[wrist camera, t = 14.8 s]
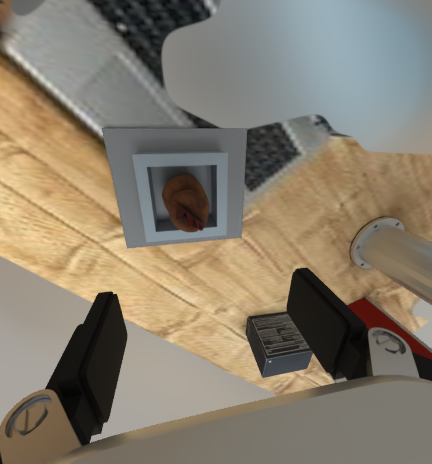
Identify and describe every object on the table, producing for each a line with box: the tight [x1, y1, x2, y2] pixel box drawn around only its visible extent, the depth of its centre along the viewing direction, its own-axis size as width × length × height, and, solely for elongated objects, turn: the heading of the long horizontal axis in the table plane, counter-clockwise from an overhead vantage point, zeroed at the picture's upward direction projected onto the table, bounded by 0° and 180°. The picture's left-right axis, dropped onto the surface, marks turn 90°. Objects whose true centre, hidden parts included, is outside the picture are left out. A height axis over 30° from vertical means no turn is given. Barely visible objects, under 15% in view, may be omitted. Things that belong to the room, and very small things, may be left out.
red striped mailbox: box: [329, 297, 432, 383], centre depth 46 cm, size 17×18×27 cm
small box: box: [246, 312, 313, 378], centre depth 46 cm, size 11×6×10 cm, turn 88°
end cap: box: [102, 128, 247, 248], centre depth 31 cm, size 20×18×6 cm
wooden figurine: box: [162, 173, 210, 232], centre depth 26 cm, size 7×6×15 cm
